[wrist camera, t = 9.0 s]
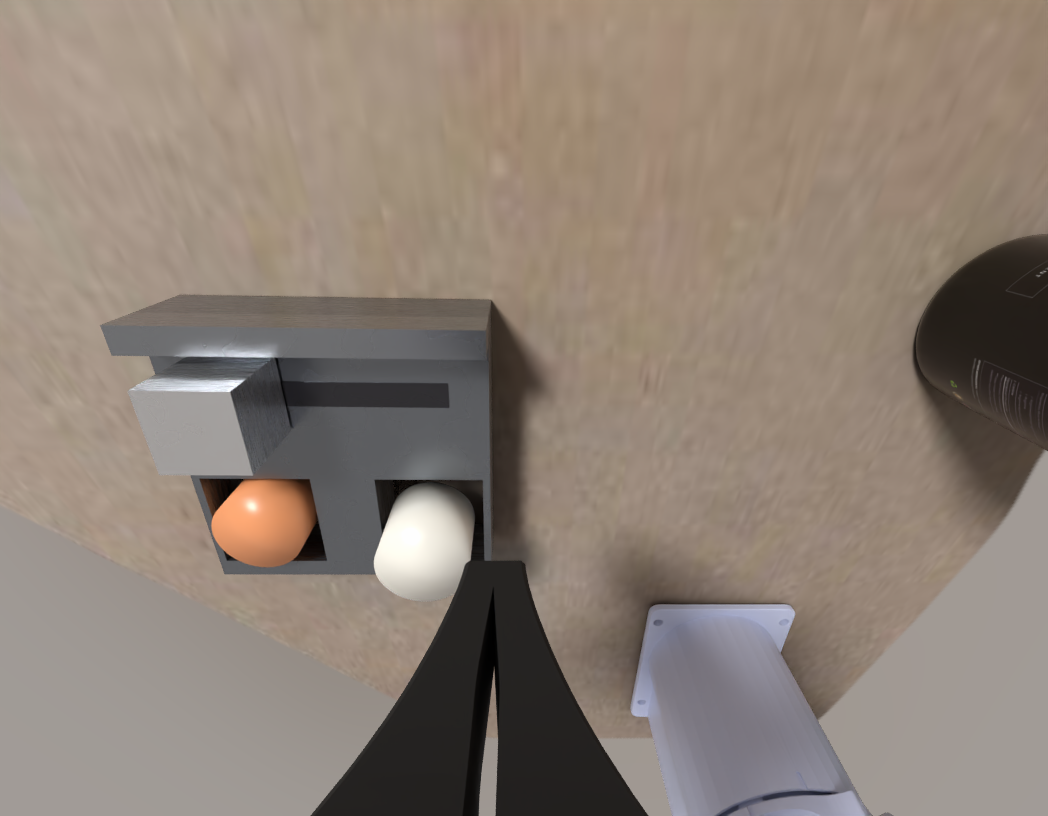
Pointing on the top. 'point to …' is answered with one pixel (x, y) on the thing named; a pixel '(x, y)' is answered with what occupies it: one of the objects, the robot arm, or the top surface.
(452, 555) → the ivory button
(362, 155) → the top surface
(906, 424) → the top surface
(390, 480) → the panel
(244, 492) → the orange button
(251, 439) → the slider knob
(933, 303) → the supplement bottle
